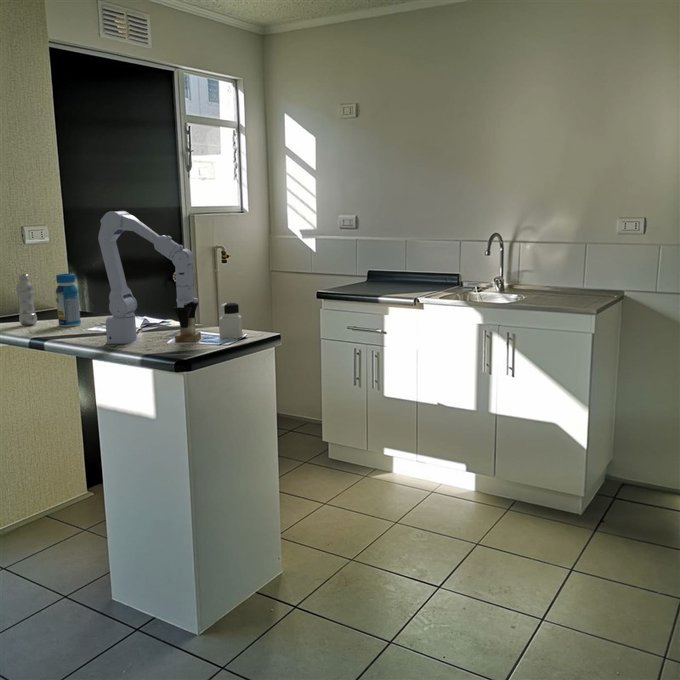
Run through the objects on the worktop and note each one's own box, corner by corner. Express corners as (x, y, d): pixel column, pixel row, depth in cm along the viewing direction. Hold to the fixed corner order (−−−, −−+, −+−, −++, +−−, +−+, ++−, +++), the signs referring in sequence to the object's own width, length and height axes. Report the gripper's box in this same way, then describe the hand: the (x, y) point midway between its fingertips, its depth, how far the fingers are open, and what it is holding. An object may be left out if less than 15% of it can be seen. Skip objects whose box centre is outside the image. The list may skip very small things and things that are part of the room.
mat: (167, 345, 238) (167, 343, 238) (177, 338, 250) (176, 336, 250) (198, 345, 237) (197, 343, 237) (206, 338, 249) (206, 336, 249)
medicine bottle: (242, 335, 255) (241, 301, 253) (240, 339, 248) (238, 304, 246) (222, 335, 255) (220, 302, 252) (219, 339, 248) (217, 305, 245)
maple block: (180, 334, 241) (179, 320, 240) (184, 332, 245) (183, 318, 244) (192, 334, 241) (191, 319, 240) (195, 332, 245) (194, 317, 244)
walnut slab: (175, 342, 240) (174, 335, 240) (180, 338, 247) (180, 331, 247) (195, 342, 240) (195, 335, 239) (200, 338, 247) (200, 331, 246)
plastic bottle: (22, 327, 278) (17, 275, 274) (17, 325, 283) (12, 274, 280) (39, 325, 282) (34, 274, 278) (34, 323, 287) (29, 273, 284)
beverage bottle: (76, 327, 277) (72, 275, 273) (55, 327, 277) (50, 275, 273) (84, 323, 285) (80, 273, 281) (63, 323, 285) (58, 273, 281)
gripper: (191, 288, 232) (193, 329, 235) (201, 282, 247) (204, 321, 249) (169, 288, 233) (172, 329, 235) (181, 283, 247) (184, 322, 250)
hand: (187, 325), depth 242 cm, fingers open, 7 cm apart
